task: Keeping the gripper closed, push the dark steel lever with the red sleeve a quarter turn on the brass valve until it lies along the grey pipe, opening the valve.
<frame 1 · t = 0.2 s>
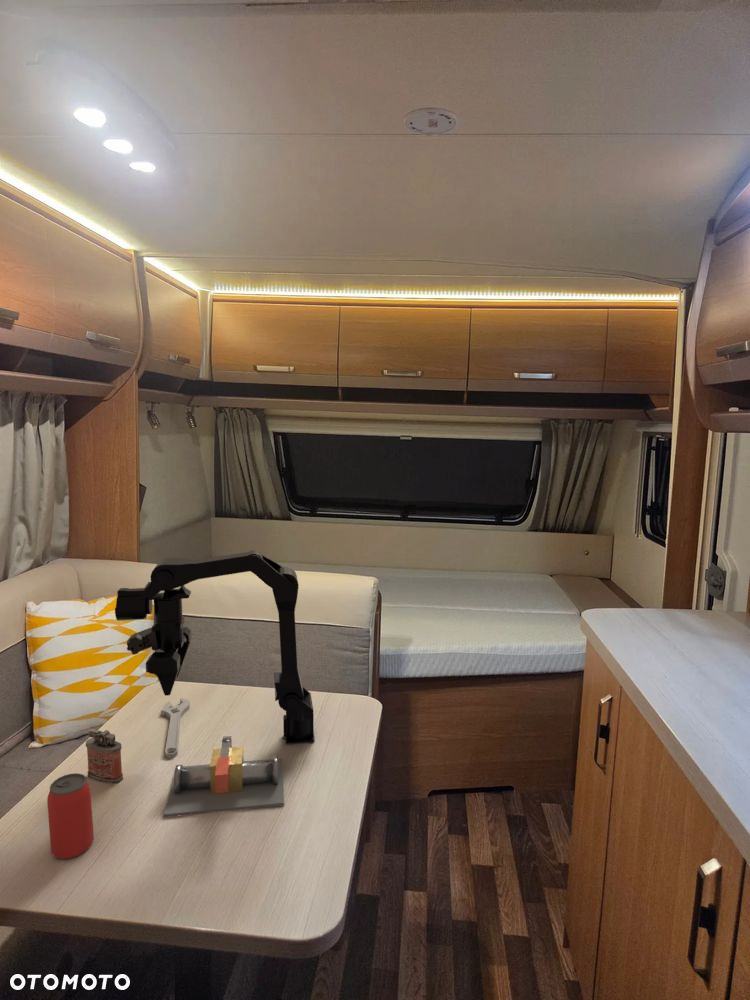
hand: (171, 685, 130), 15 cm above the table, tool pointing down, fingers open, 9 cm apart
adjustable wrench: (171, 730, 140), on the table
valve body: (227, 786, 118), resting on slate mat
lighter: (105, 778, 121), on the table
beer can: (72, 848, 102), on the table
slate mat: (227, 786, 118), on the table
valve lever: (224, 762, 112), point 8 cm above the table, hinge at 0.0°
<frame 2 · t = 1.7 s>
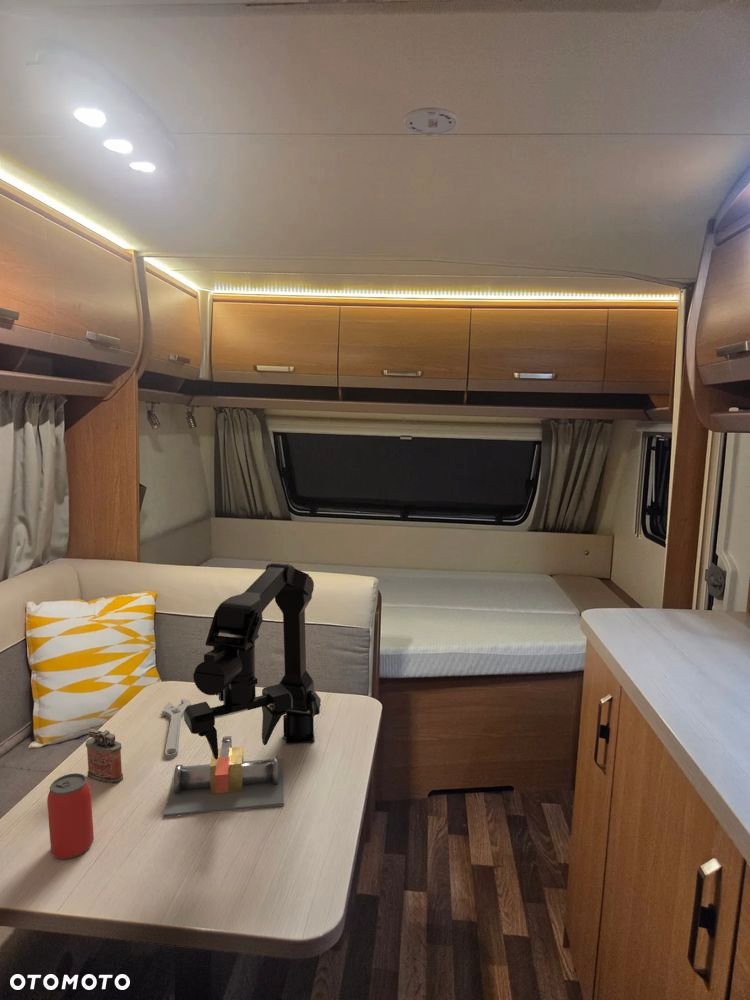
hand: (240, 751, 109), 13 cm above the table, tool pointing down, fingers open, 9 cm apart
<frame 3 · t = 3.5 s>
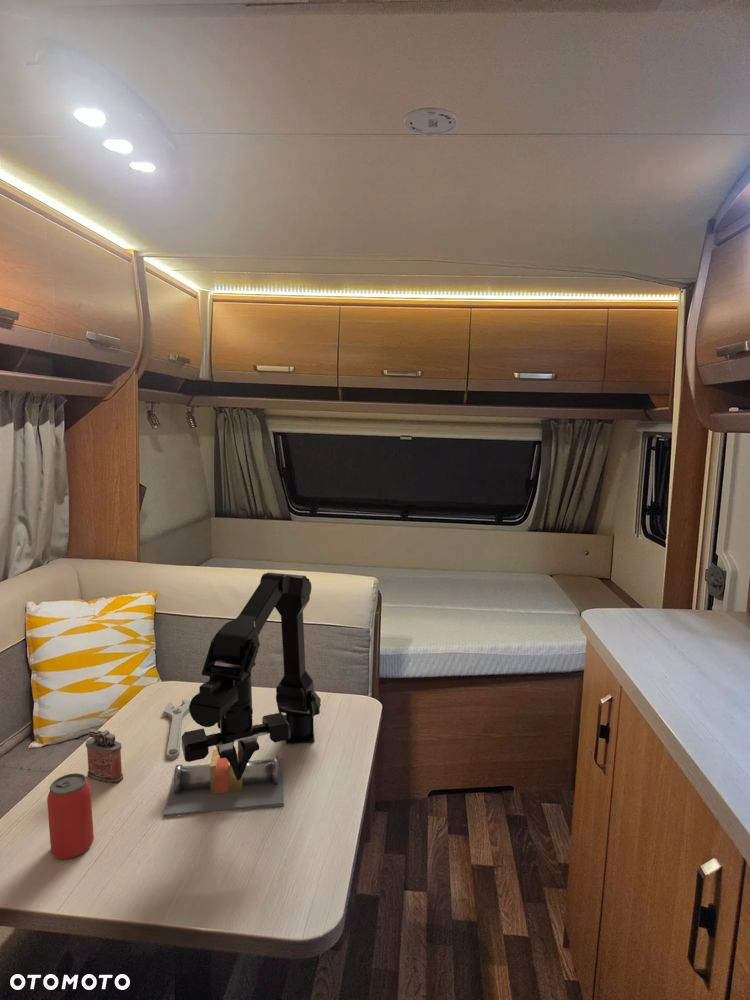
hand: (238, 779, 108), 8 cm above the table, tool pointing down, fingers closed
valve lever: (224, 762, 112), point 8 cm above the table, hinge at -0.3°, touching gripper
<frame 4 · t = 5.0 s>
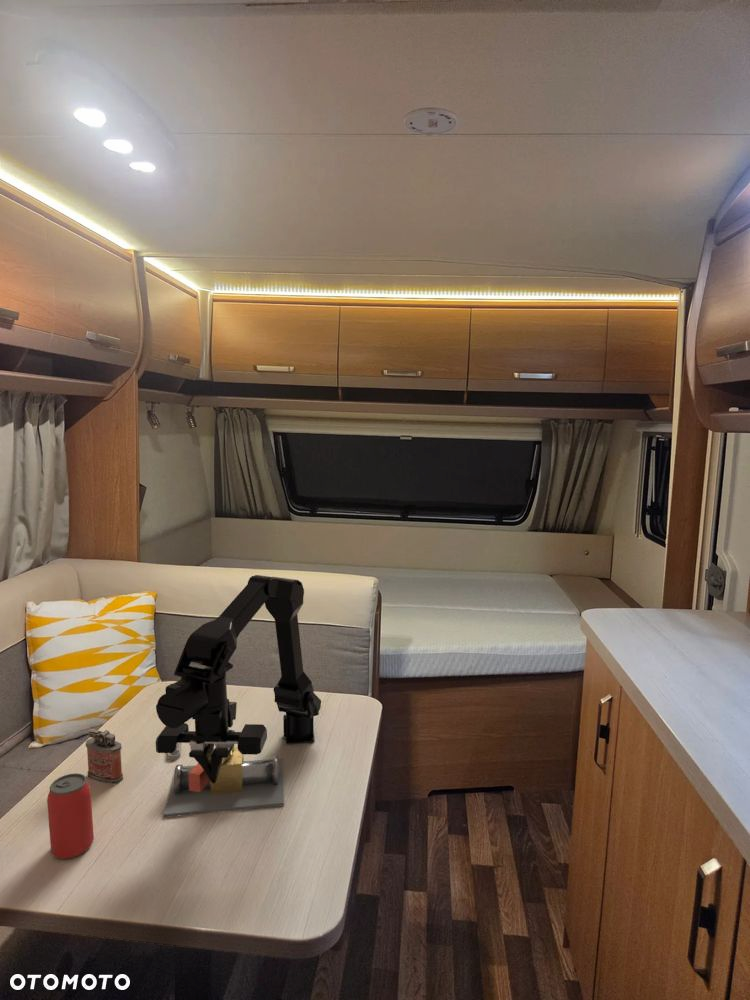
hand: (214, 781, 107), 8 cm above the table, tool pointing down, fingers closed
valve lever: (213, 761, 112), point 9 cm above the table, hinge at -24.0°, touching gripper
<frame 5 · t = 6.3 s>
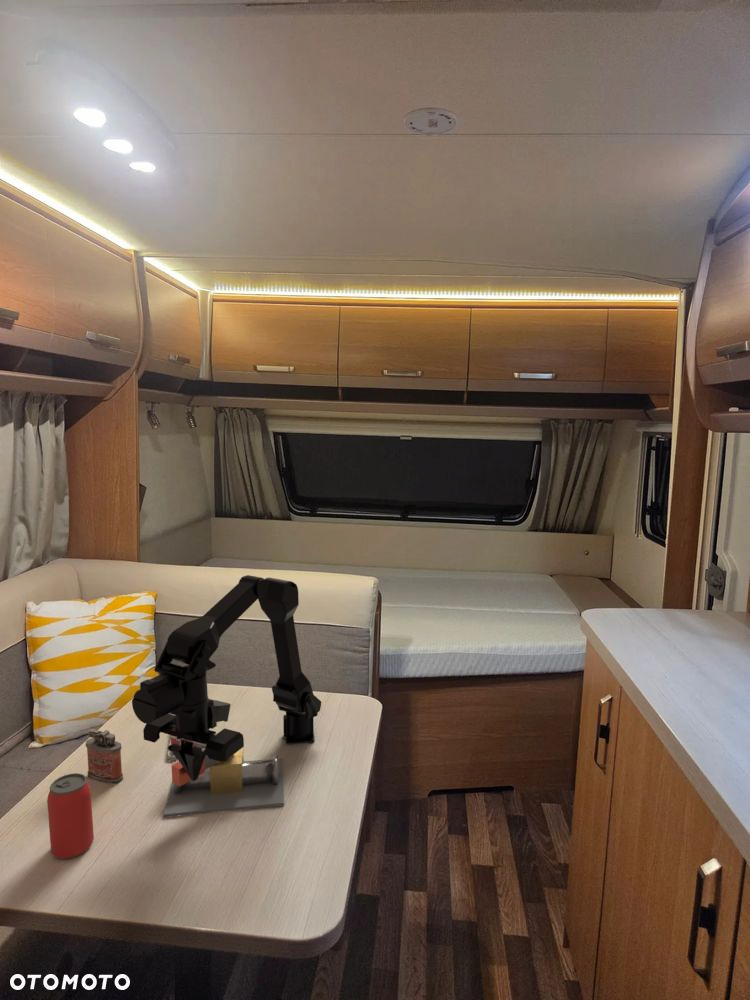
hand: (194, 779, 108), 8 cm above the table, tool pointing down, fingers closed
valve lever: (205, 759, 113), point 8 cm above the table, hinge at -46.0°, touching gripper
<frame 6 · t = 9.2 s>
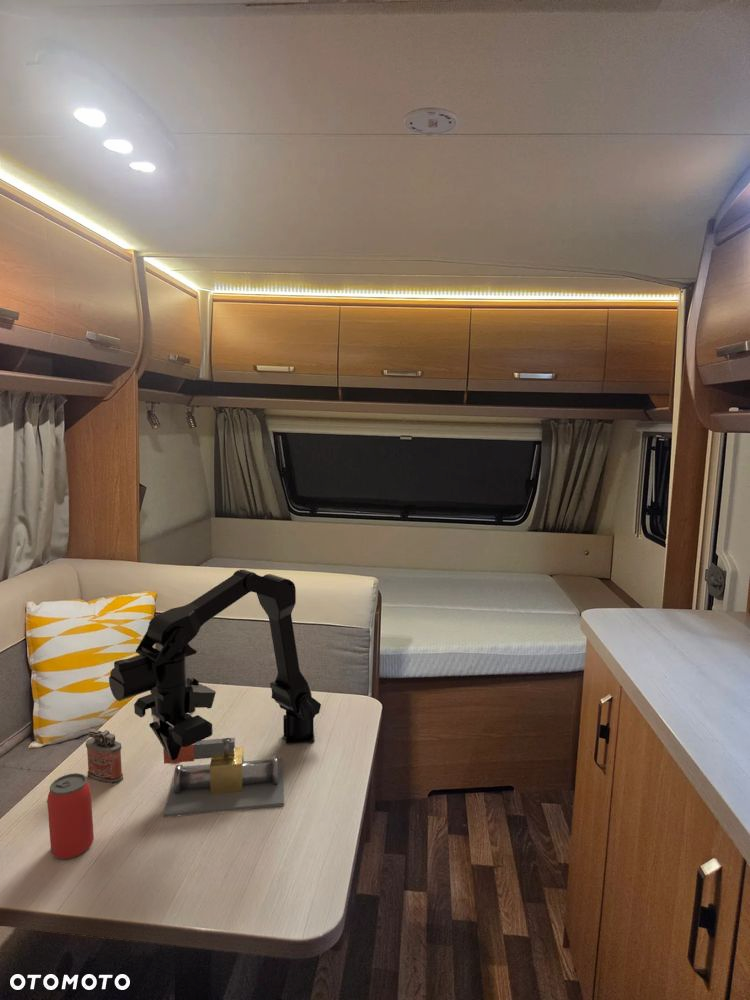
hand: (173, 758, 113), 9 cm above the table, tool pointing down, fingers closed
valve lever: (199, 749, 116), point 9 cm above the table, hinge at -90.1°
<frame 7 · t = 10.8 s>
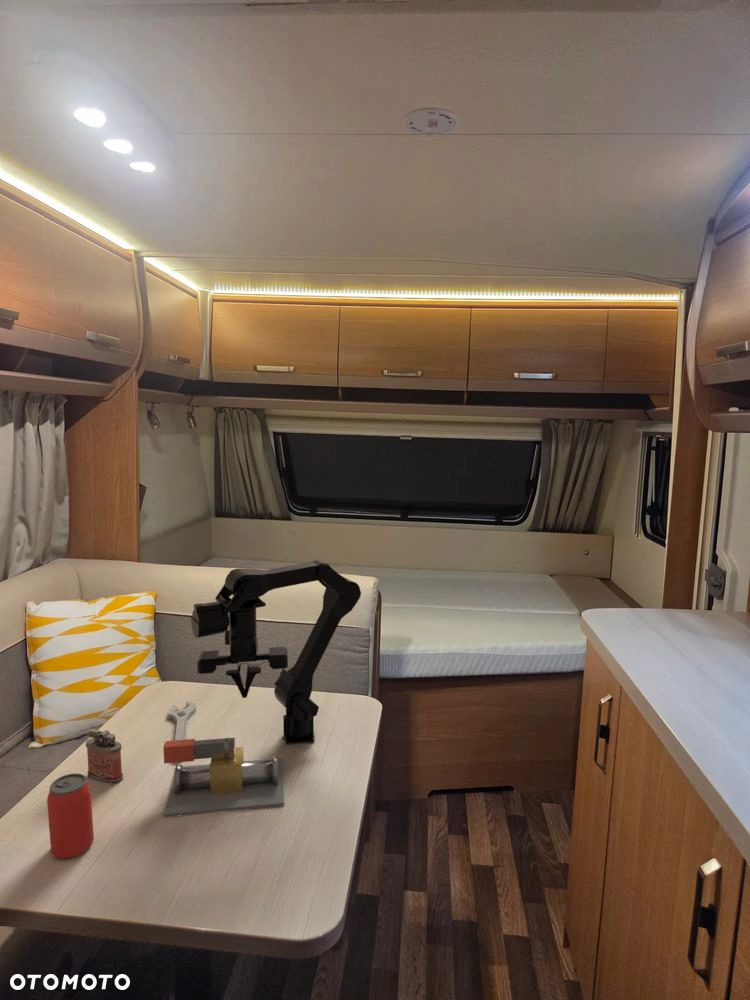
hand: (244, 697, 129), 13 cm above the table, tool pointing down, fingers closed
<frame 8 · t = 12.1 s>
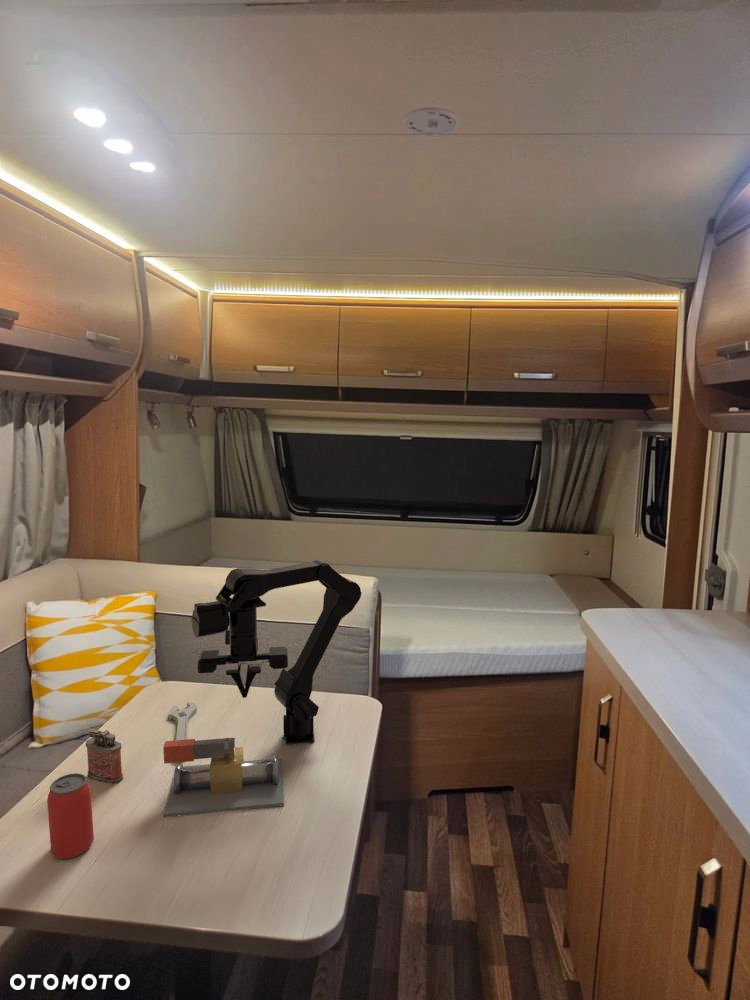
hand: (244, 696, 129), 13 cm above the table, tool pointing down, fingers closed
at the end: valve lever at -90° (first picture: +0°) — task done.
